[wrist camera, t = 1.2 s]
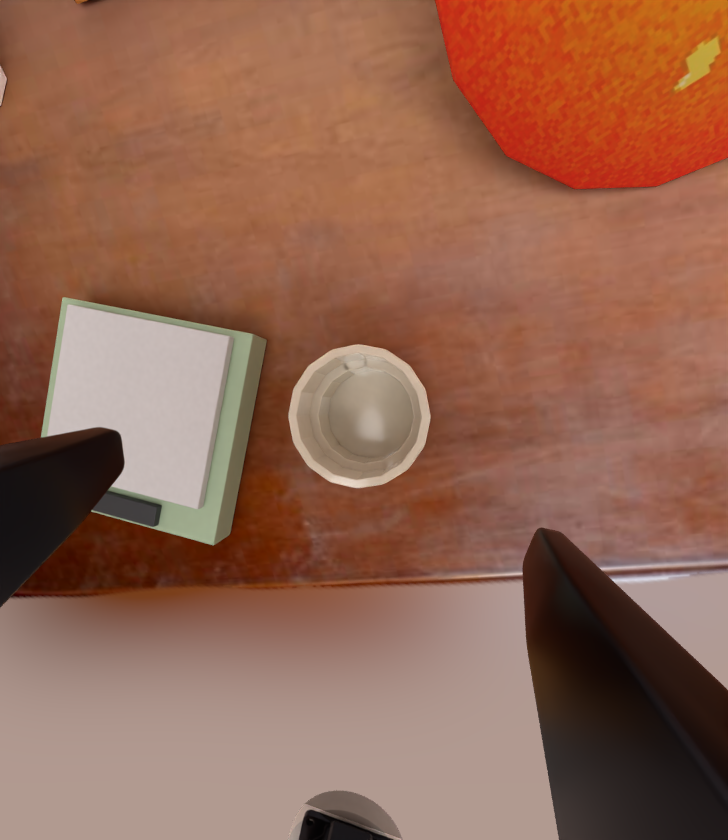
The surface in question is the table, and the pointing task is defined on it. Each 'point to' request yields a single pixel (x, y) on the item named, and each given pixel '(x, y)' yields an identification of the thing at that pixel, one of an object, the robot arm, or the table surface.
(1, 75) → the cup
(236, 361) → the scale
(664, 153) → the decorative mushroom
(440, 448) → the table surface
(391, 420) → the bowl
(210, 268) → the table surface
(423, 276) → the table surface
